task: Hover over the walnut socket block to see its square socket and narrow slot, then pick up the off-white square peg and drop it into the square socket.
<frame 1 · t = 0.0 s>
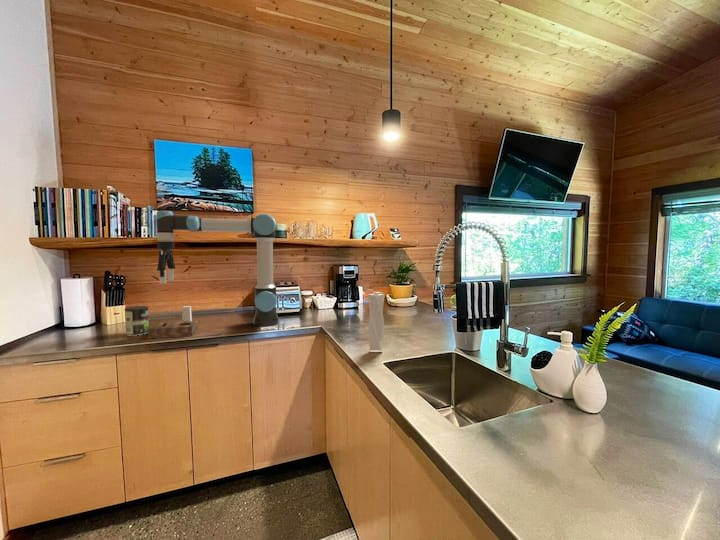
hand: (167, 282, 166), 28 cm above the worktop, tool pointing down, fingers open, 13 cm apart
coffee can: (137, 334, 171), on the worktop
skyscraper: (375, 351, 143), on the worktop
socket block: (174, 333, 170), on the worktop
square peg: (187, 327, 185), on the worktop
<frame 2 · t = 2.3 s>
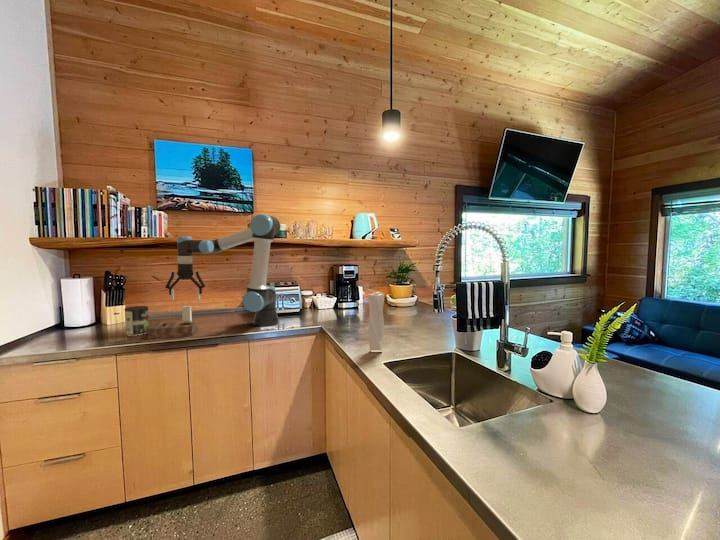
hand: (186, 300, 184), 16 cm above the worktop, tool pointing down, fingers open, 13 cm apart
nothing on the worktop moved.
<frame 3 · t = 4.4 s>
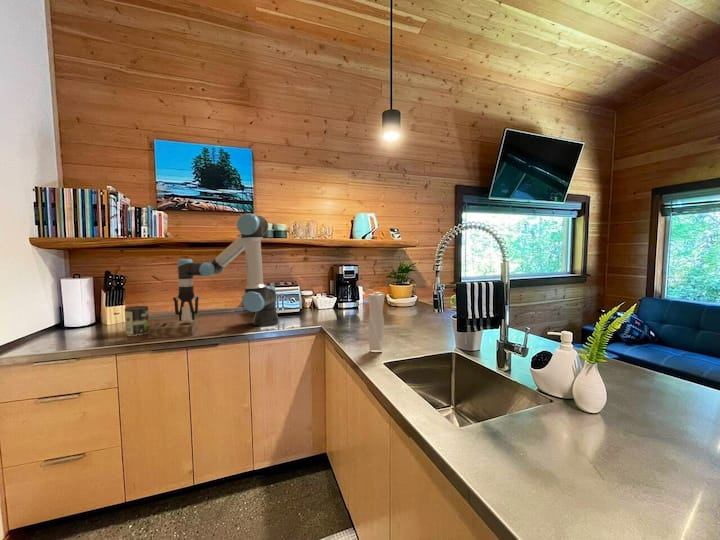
hand: (187, 325, 185), 1 cm above the worktop, tool pointing down, fingers closed on square peg, 4 cm apart
square peg: (187, 327, 185), on the worktop, touching gripper
everything else where it was.
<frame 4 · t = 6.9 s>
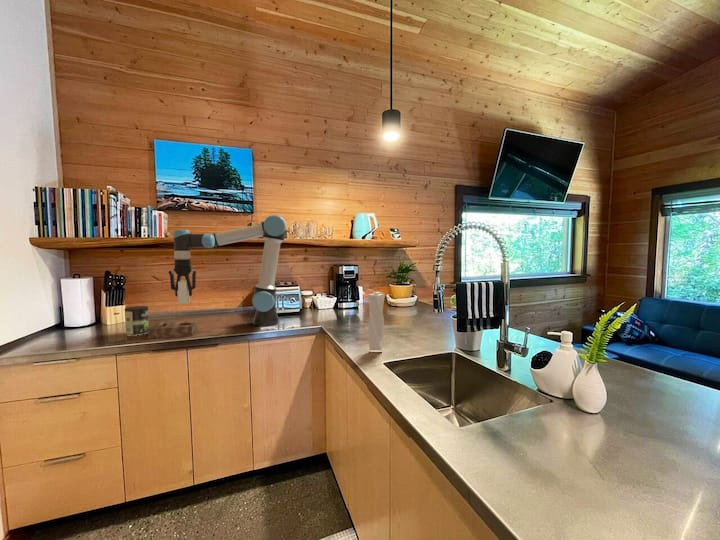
hand: (184, 302, 172), 17 cm above the worktop, tool pointing down, fingers closed on square peg, 4 cm apart
square peg: (184, 303, 172), point 16 cm above the worktop, touching gripper
everything else where it was.
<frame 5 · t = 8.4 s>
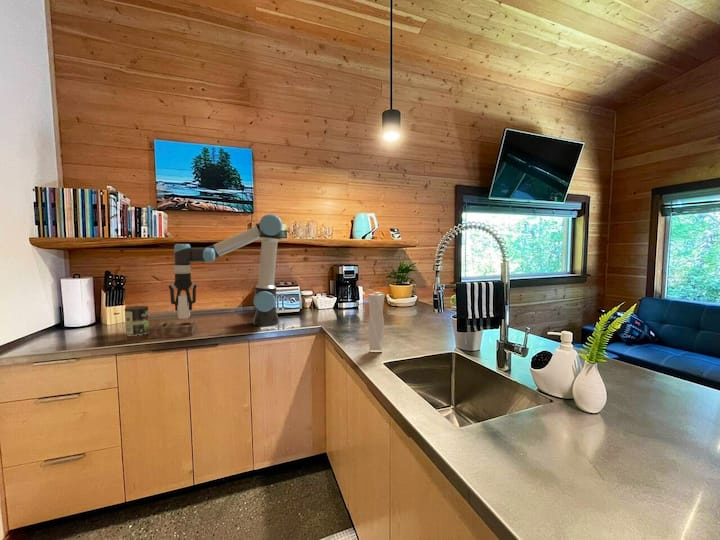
hand: (184, 316, 171), 9 cm above the worktop, tool pointing down, fingers closed on square peg, 4 cm apart
square peg: (184, 317, 171), point 9 cm above the worktop, touching gripper
everything else where it was.
when the fingers open (7 cm above the worktop, at t = 9.7 s): square peg drops 6 cm, resting in socket block.
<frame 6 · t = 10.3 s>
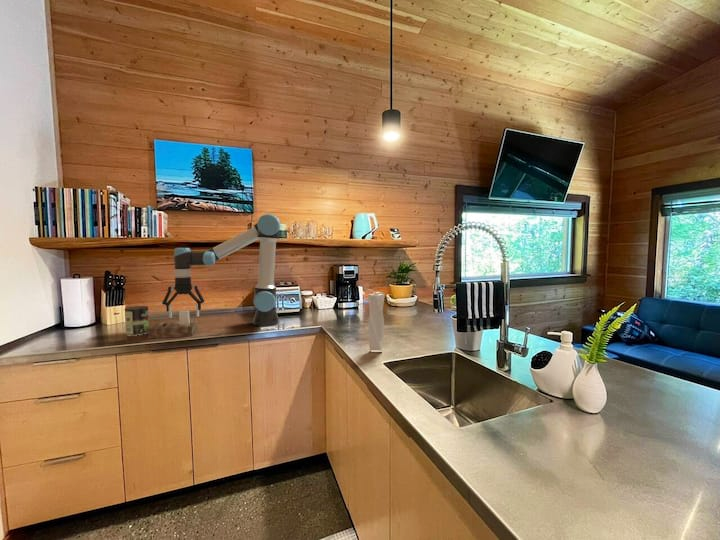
hand: (184, 316, 171), 9 cm above the worktop, tool pointing down, fingers open, 12 cm apart
square peg: (184, 333, 172), resting in socket block
everything else where it was.
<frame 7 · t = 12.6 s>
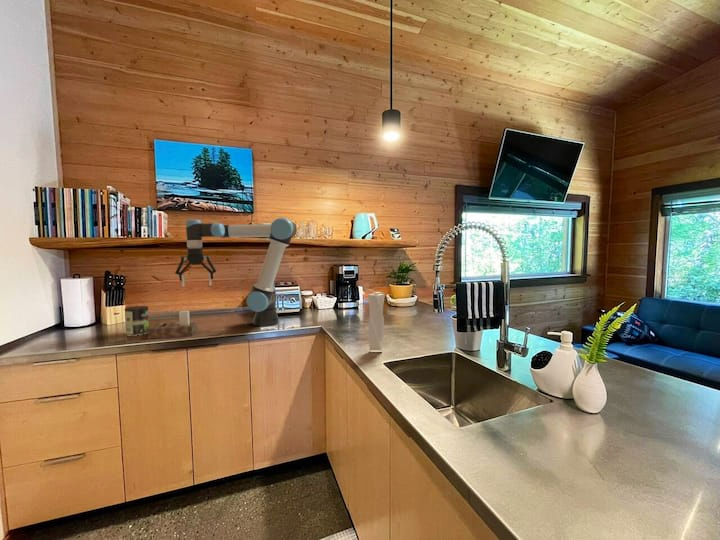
hand: (197, 286, 179), 25 cm above the worktop, tool pointing down, fingers open, 13 cm apart
nothing on the worktop moved.
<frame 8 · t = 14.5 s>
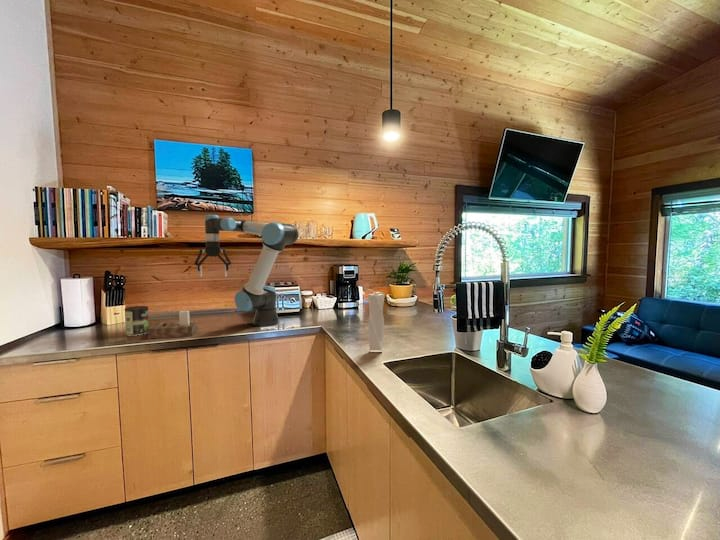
hand: (213, 276, 192), 29 cm above the worktop, tool pointing down, fingers open, 13 cm apart
nothing on the worktop moved.
at the end: square peg 0.0 cm from the target spot on the socket block, point 0.0 cm above the socket block's base; square peg tilted 0°; the gripper is holding nothing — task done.
